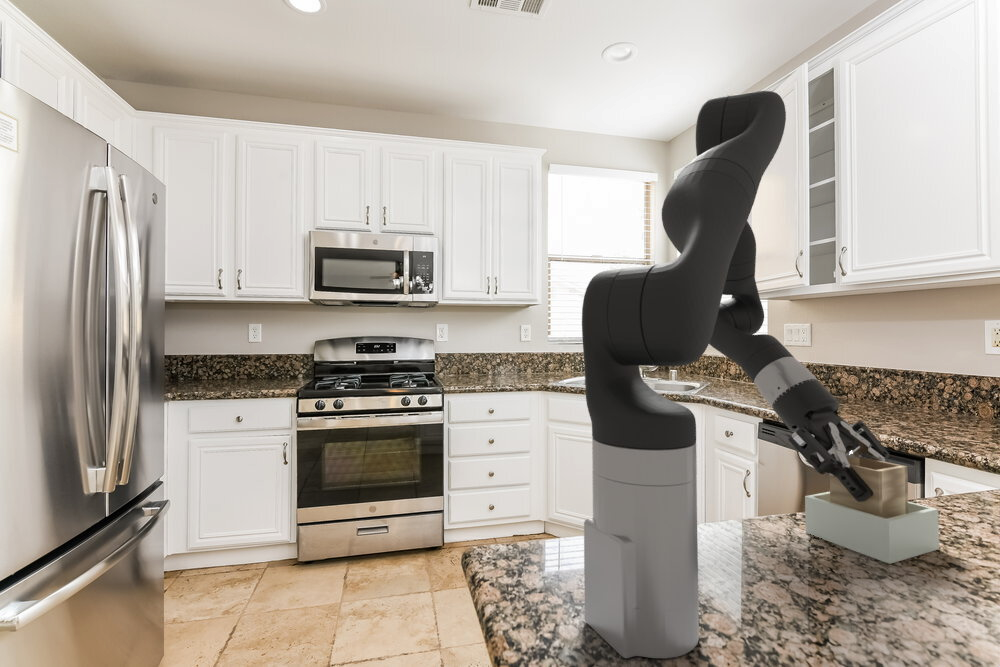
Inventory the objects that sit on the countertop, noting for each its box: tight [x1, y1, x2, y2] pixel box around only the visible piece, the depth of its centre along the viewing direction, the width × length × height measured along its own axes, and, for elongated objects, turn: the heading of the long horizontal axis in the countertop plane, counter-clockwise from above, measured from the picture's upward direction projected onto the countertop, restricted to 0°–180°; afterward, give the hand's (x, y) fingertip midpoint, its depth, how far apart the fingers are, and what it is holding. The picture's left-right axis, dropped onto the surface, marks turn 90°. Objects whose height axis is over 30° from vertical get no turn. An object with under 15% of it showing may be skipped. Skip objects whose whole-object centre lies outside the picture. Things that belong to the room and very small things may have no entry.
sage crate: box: [804, 491, 940, 565], centre depth 64 cm, size 10×10×5 cm
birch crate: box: [829, 456, 909, 519], centre depth 64 cm, size 6×6×8 cm
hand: (882, 494), depth 62 cm, fingers closed on birch crate, 6 cm apart
